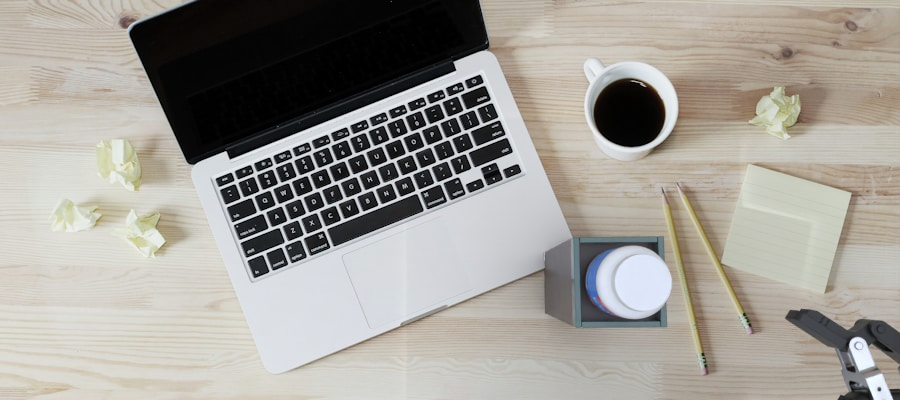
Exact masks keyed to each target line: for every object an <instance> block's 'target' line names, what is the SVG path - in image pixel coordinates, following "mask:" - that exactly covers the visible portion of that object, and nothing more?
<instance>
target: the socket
mask: <svg viewBox="0 0 900 400" xmlns="http://www.w3.org/2000/svg"><path fill="white" fill-rule="evenodd" d="M570 239H571V280H572V322H573V326H572V327H573V328H575V329H578V328H579V329H580V328H582V329H584V328H585V329H588V328H590V329H592V328H593V329H597V328H599V329H601V328H608V329H609V328H610V329H611V328H613V329H614V328H621V329H622V328H635V329H637V328H668V312H667V311H668V310H667V302H666V303H665V304H664V305H663V307H662V308H661V309H660V310H659V311H657V312H656V313H655V320H582V316H581V276H580V244H652V248H653V252H655V253H656V254H657V255H659V256H660V257H661V259H662V260H663V261H664V262H665V263H666V260H665V237H664V235H659V236H658V235H657V236H656V235H655V236H654V235H651V236H647V235H646V236H645V235H644V236H642V235H641V236H639V235H638V236H636V235H635V236H633V235H632V236H573V237H570Z"/></svg>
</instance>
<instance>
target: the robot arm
mask: <svg viewBox="0 0 900 400" xmlns="http://www.w3.org/2000/svg"><path fill="white" fill-rule="evenodd" d="M784 319H785V320H786V321H788V322H789V323H790V324H792V325H794V326H795V327H797V328H798V329H800V330H801V331H803V332H804V333H806V334H807V335H808V336H811V337H812V338H814V339H815V340H817V341H818V342H820V343H821V344H822V345H825V347H828V348H832V349H834V350H835V353H836V355H837V357H838V360H839V362H840V363H839V364H840V365H841V371H840V372H841V376H842V378H843V380H844V384H845V386H846V388H847V390H848V392H846V393H845V394H844V395H843V394H839V396H838V398H837V400H900V388H889V385H888V383H887V380H886V378H885V375H884V373H883V372H882V370H881V369H880V368H879V367H878V366H877V364H876V362H875V360H874V358H873V355H872V352H871V350H870V346H871V345H872V346H873V347H875V348H876V349H878V351H880V352H882V353H883V354H885V355H886V356H887V357H889V358H891V360H893V361H894V362H896V363H897V364H898V367H897V371H898V374H899V375H900V331H899V330H897V329H896V328H895V327H893V326H891V325H890V324H888V322H886V321H884V320H880V319H869V318H868V319H867V318H859V319H857V320H856V321H855V322H854V324H853V326H852V327H850V328H849V329H846V328H845V327H843V326H842V325H840V324H838V323H837V322H836V321H834V320H832V319H831V318H829V317H827V316H826V315H825V314H823V313H821V312H820V311H819V310H816V309H810V308H800V309H799V310H797V309H789V311H788V312H787V313H786V315H785V317H784Z"/></svg>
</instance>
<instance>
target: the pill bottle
mask: <svg viewBox="0 0 900 400" xmlns="http://www.w3.org/2000/svg"><path fill="white" fill-rule="evenodd" d="M584 287H585V291H586V294H587V296H588V298H589V300H590V301H591V302H592V303H593V304H594V305H595V306H596V307H597V308H598V309H600V310H601V311H603V312H605V313H607V314H611V315H615V316H619V317H622V318H628V319H642V318H646V317H649V316H651V315H653V314H655V313H656V312H657V311H659V310H660V309H661V308H662V307H663V305H664V304H665V303H666V304H667V301H668V299H669V298H670V295H671V292H672V289H673V277H672V274H671V272H670V269H669V268H668V265H667V264H666V261H665V262H664V261H663V260H662V259H661V257H660V256H659V255H657V254H656V253H655V252H653V251H652V250H650V249H648V248H645V247H641V246H624V247H620V248H615V249H610V250H606V251H604V252H602V253H600V254H598V255H597V256H596V257H595V258H594V259H593V260H592V261H591V262H590V263H589V265H588V267H587V269H586V271H585V275H584Z"/></svg>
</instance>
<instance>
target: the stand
mask: <svg viewBox="0 0 900 400" xmlns="http://www.w3.org/2000/svg"><path fill="white" fill-rule="evenodd" d="M624 246H641V247H645V248H648V249H650V250H652V251H653V248H652V244H580V276H581V316H582V320H655V314H653V315H651V316H649V317H646V318H642V319H628V318H622V317H619V316H615V315H611V314H607V313H605V312H603V311H601V310H600V309H598V308H597V307H596V306H595V305H594V304H593V303H592V302H591V301H590V300H589V298H588V296H587V294H586V291H585V287H584V275H585V271H586V269H587V267H588V265H589V263H590V262H591V261H592V260H593V259H594V258H595V257H596V256H597V255H598V254H600V253H602V252H604V251H606V250H610V249H615V248H620V247H624ZM544 252H545V268H544V267H543V269H544V270H543V277H544V280H543V281H544V285H543V286H544V314H546V315H549V316H550V317H553V318H555V319H557V320H559V321H561V322H563V323H565V324H568V325H569V326H571V327H574V326H573V322H572V280H571V238H569V239H568V240H566V241H563V242H561V243H560V244H558V245H556V246H553V247H552V248H550V249H548V250H546V251H544Z"/></svg>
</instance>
